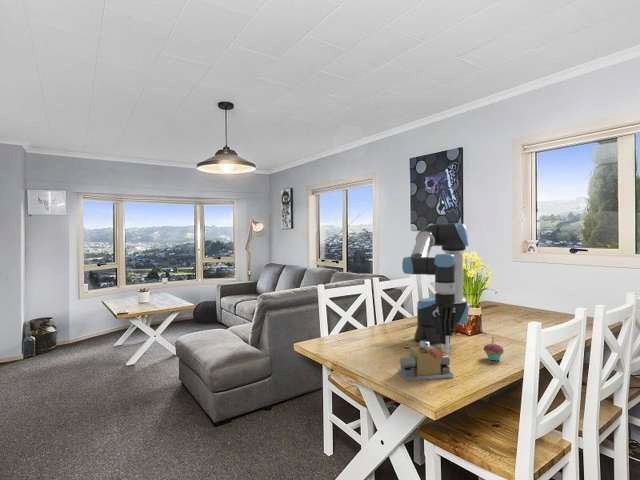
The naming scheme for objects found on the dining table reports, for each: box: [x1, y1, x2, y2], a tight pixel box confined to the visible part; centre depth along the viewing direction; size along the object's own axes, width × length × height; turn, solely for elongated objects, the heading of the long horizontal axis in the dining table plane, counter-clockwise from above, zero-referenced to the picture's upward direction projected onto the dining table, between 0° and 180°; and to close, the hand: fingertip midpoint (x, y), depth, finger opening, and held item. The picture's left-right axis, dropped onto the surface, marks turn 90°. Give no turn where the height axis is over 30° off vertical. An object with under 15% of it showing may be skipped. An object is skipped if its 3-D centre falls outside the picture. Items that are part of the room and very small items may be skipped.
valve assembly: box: [397, 346, 454, 382], centre depth 152 cm, size 20×10×11 cm, turn 98°
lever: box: [419, 341, 444, 359], centre depth 146 cm, size 16×4×3 cm, turn 8°
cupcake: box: [483, 335, 505, 362], centre depth 169 cm, size 9×8×12 cm
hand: (445, 351), depth 144 cm, fingers closed
